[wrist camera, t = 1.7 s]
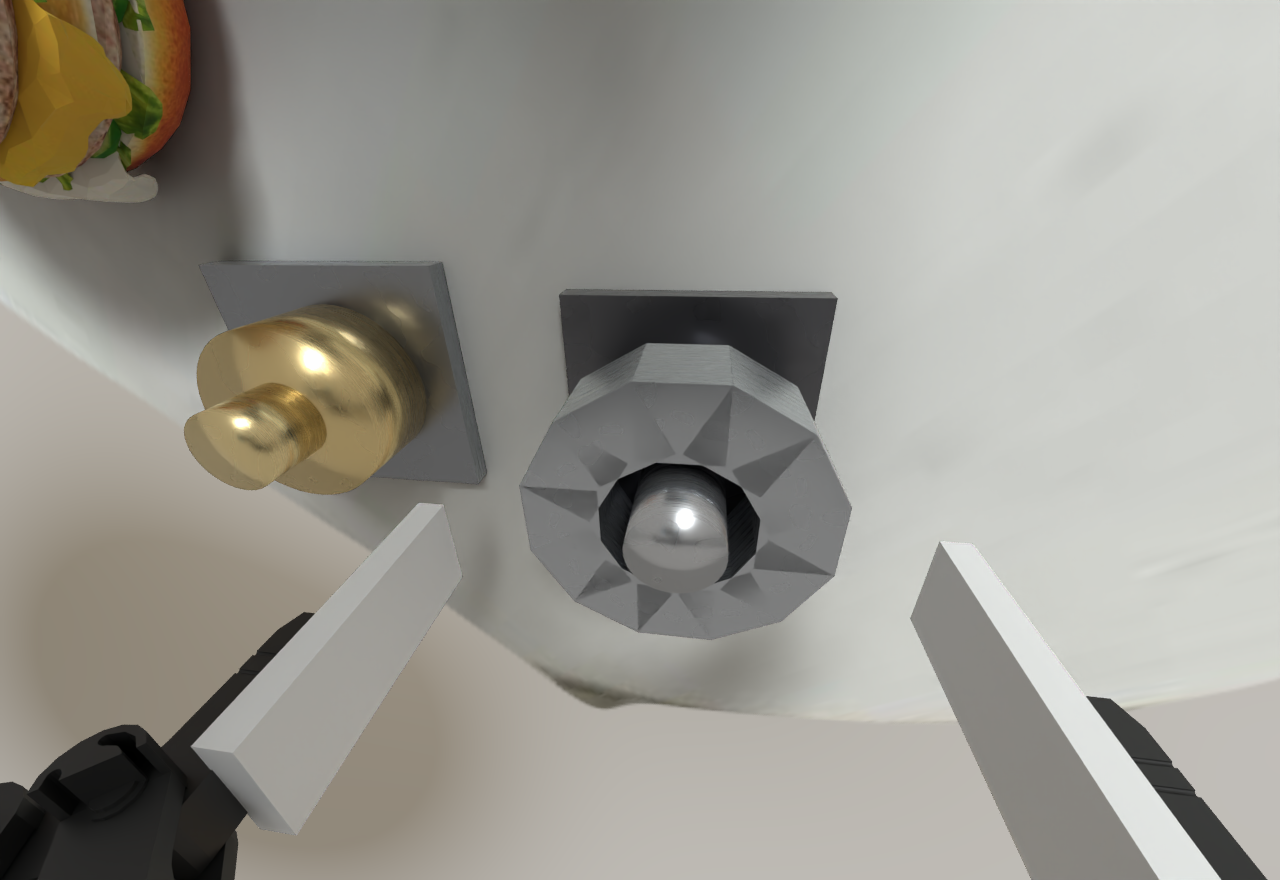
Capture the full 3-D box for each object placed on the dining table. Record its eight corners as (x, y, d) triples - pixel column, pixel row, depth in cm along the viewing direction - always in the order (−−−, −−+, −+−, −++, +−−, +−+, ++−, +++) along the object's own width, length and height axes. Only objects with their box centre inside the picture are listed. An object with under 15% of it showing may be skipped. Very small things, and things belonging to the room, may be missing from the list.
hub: (221, 261, 20) (2, 297, 14) (441, 261, 18) (309, 303, 12) (308, 461, 25) (175, 553, 18) (486, 472, 23) (407, 575, 17)
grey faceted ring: (539, 340, 14) (500, 376, 12) (848, 348, 13) (882, 390, 10) (566, 560, 18) (543, 622, 16) (799, 580, 17) (814, 650, 15)
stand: (566, 289, 18) (458, 371, 10) (831, 292, 17) (931, 388, 9) (585, 495, 23) (521, 655, 15) (791, 509, 22) (835, 692, 14)
